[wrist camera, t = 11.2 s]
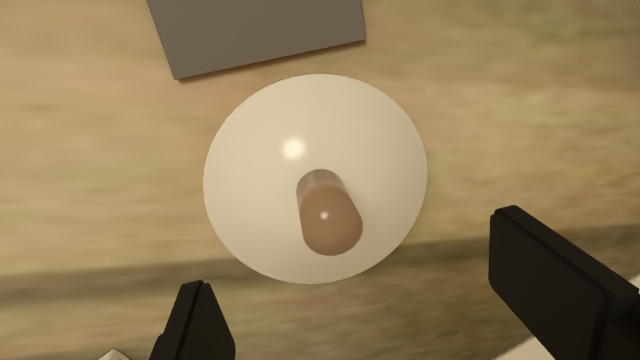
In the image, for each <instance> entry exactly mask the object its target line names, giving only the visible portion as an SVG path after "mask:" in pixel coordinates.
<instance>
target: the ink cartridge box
mask: <svg viewBox="0 0 640 360" xmlns="http://www.w3.org/2000/svg"><path fill="white" fill-rule="evenodd" d="M99 360H130V359H129V358H127V357H126V356H125V355H123V354H122V353H120V352H119V351H118V350H116V349H113V350H111V351H110V352H109V353H107V354H106V355H104V356H103V357H101V358H100V359H99Z"/></svg>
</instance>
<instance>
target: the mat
mask: <svg viewBox="0 0 640 360" xmlns="http://www.w3.org/2000/svg"><path fill="white" fill-rule="evenodd" d="M147 3H148V6H149V9H150V12H151V15H152V18H153V20H154V23H155V26H156V29H157V32H158V35H159V37H160V40H161V43H162V46H163V49H164V52H165V54H166V57H167V60H168V63H169V66H170V69H171V72H172V74H173V77H174V80H176V79H181V78H185V77H190V76H195V75H199V74H204V73H209V72H214V71H218V70H223V69H228V68H233V67H237V66H242V65H247V64H251V63H256V62H261V61H266V60H270V59H275V58H280V57H285V56H289V55H294V54H299V53H304V52H308V51H313V50H318V49H322V48H327V47H332V46H337V45H341V44H346V43H351V42H356V41H360V40H365V39H366V38H365V30H364V22H363V15H362V7H361V0H147Z"/></svg>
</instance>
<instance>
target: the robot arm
mask: <svg viewBox="0 0 640 360" xmlns="http://www.w3.org/2000/svg"><path fill="white" fill-rule="evenodd" d="M488 278H489V282H490V285H491V287H492V288H493V290H494V291H495V292H496V293H497V294H498V295H499V296H500V297H501V299H502V300H503V301H504V302H505V303H506V304H507V305H508V307H509V308H510V309H511V310H512V311H513V312H514V313H515V314H516V316H517V317H518V318H519V319H520V320H521V321H522V322H523V323H524V325H525V326H526V327H527V328H528V329H529V330H530V331H531V333H532V334H533V335H534V336H535V337H536V338H537V339H538V340H539V342H541V344H542V345H543V346H544V347H545V348H546V349H547V351H548V352H549V353H550V354H551V355H552V356H553V357H554V359H555V360H640V294H639V288H637V287H635V286H634V285H633V284H631V283H630V282H628V281H627V280H625V279H624V278H622V277H621V276H620V275H618V274H617V273H615V272H614V271H612V270H611V269H609V268H608V267H606V266H605V265H603V264H602V263H600V262H599V261H597V260H596V259H595V258H593V257H592V256H590V255H589V254H587V253H586V252H584V251H583V250H581V249H580V248H578V247H577V246H575V245H574V244H572V243H571V242H569V241H568V240H567V239H565V238H564V237H562V236H561V235H559V234H558V233H556V232H555V231H553V230H552V229H550V228H549V227H547V226H546V225H544V224H543V223H542V222H540V221H539V220H537V219H536V218H534V217H533V216H531V215H530V214H528V213H527V212H525V211H524V210H522V209H521V208H519V207H518V206H516V205H511V206H507V207H503V208H499V209H496V210H495V212H494V214H493V215H491V217H490V243H489V275H488ZM235 352H236V350H235V343H234V340H233V337H232V335H231V333H230V330H229V328H228V326H227V323H226V321H225V319H224V316H223V314H222V311H221V309H220V307H219V304H218V302H217V300H216V297H215V295H214V293H213V290H212V288H211V286H210V284H209V283H205V284H204V282H203V281H202V280H198V281H193V282H189V283H185V284H183V285H182V286H181V287H180V290H179V293H178V295H177V298H176V301H175V303H174V306H173V309H172V311H171V314H170V317H169V319H168V322H167V325H166V327H165V330H164V333H163V334H161V335H160V336H159V337H158V339H157V340H156V343H155V345H154V348H153V350H152V353H151V355H150V358H149V360H235Z"/></svg>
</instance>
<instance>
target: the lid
mask: <svg viewBox="0 0 640 360" xmlns="http://www.w3.org/2000/svg"><path fill="white" fill-rule="evenodd" d="M426 185H427V162H426V155H425V151H424V147H423V144H422V140H421V138H420V136H419V134H418V132H417V129H416V127H415V126H414V124H413V123H412V121H411V120H410V118H409V116H408V115H407V114H406V113H405V112H404V111H403V109H402V108H401V107H400V106H399V105H398V104H397V103H396V102H395V101H393V100H392V99H391V98H390V97H389V96H387V95H386V94H384V93H383V92H381V91H380V90H378V89H376V88H375V87H373V86H370V85H368V84H366V83H364V82H362V81H359V80H355V79H352V78H348V77H345V76H341V75H334V74H304V75H297V76H292V77H289V78H285V79H282V80H279V81H276V82H274V83H272V84H270V85H267V86H265V87H263V88H262V89H260V90H258V91H257V92H255V93H254V94H252V95H250V96H249V97H248V98H247V99H246V100H244V101H243V102H242V103H241V104H240V105H238V107H237V108H236V109H235V110H234V111H233V112H232V113H231V114H230V115H229V116H228V118H227V119H226V121H225V122H224V124H223V125H222V126H221V128H220V129H219V131H218V132H217V134H216V136H215V138H214V140H213V142H212V144H211V146H210V149H209V153H208V156H207V159H206V163H205V169H204V175H203V193H204V201H205V206H206V210H207V213H208V217H209V219H210V221H211V224H212V226H213V228H214V230H215V232H216V233H217V235H218V237H219V238H220V240H221V241H222V243H223V244H224V245H225V246H226V247H227V248H228V250H229V251H230V252H231V253H232V254H233V255H234V256H236V257H237V258H238V259H239V260H240V261H241V262H243V263H244V264H246V265H247V266H249V267H250V268H252V269H254V270H256V271H257V272H259V273H261V274H263V275H266V276H269V277H271V278H274V279H278V280H282V281H286V282H292V283H299V284H318V283H328V282H333V281H338V280H342V279H345V278H348V277H351V276H354V275H356V274H358V273H361V272H363V271H365V270H367V269H369V268H370V267H372V266H374V265H375V264H377V263H378V262H380V261H381V260H383V259H384V258H385V257H386V256H388V255H389V254H390V253H391V252H392V251H393V250H394V249H395V248H396V247H397V246H398V245H399V244H400V243H401V242H402V241H403V239H404V238H405V237H406V235H407V234H408V233H409V231H410V230H411V228H412V226H413V224H414V223H415V221H416V219H417V217H418V215H419V212H420V210H421V207H422V204H423V201H424V197H425V193H426Z"/></svg>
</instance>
